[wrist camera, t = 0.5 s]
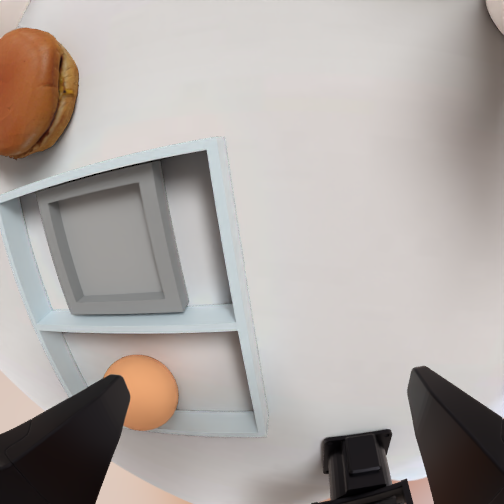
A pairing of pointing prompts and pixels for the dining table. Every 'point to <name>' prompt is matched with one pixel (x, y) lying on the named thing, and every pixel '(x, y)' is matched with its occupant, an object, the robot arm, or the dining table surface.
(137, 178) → the square tray
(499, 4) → the drinking glass
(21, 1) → the slotted house block
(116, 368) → the ball
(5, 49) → the burger
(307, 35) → the dining table surface
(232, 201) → the two compartment tray
